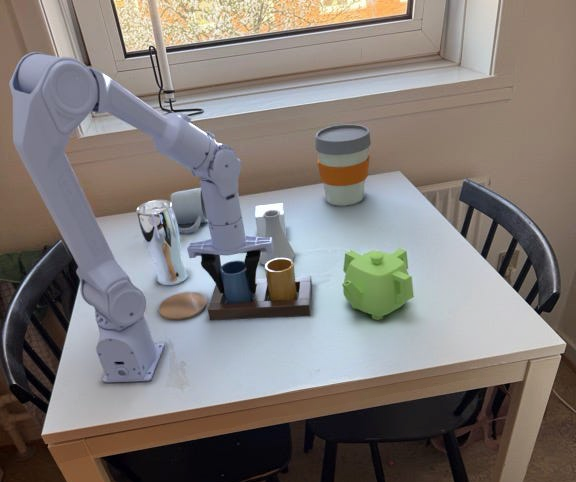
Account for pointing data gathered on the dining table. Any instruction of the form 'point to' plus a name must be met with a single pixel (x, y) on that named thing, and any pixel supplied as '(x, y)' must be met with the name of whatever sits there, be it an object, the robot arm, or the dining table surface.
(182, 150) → the robot arm
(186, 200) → the ceramic mug
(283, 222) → the white cube
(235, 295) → the blue cup
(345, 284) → the teapot
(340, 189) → the reusable coffee cup
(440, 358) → the dining table surface
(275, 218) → the flask
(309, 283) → the cup holder
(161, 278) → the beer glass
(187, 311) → the coaster
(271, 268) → the ochre cup
